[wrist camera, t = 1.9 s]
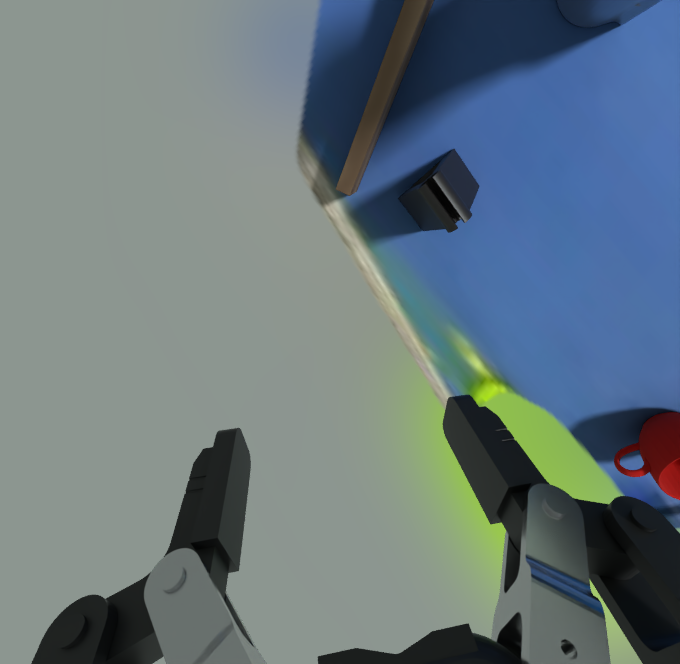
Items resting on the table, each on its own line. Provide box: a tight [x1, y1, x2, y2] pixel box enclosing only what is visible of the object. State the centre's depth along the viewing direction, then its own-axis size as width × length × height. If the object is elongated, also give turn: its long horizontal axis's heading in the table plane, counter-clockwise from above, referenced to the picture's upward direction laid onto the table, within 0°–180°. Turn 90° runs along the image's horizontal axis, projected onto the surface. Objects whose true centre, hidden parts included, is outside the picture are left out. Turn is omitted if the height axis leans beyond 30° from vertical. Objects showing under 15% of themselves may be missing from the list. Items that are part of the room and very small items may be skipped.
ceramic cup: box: [614, 412, 680, 500], centre depth 49 cm, size 13×17×10 cm
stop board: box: [336, 0, 434, 196], centre depth 35 cm, size 2×24×6 cm, turn 157°
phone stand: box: [398, 149, 479, 232], centre depth 37 cm, size 9×6×12 cm, turn 133°
